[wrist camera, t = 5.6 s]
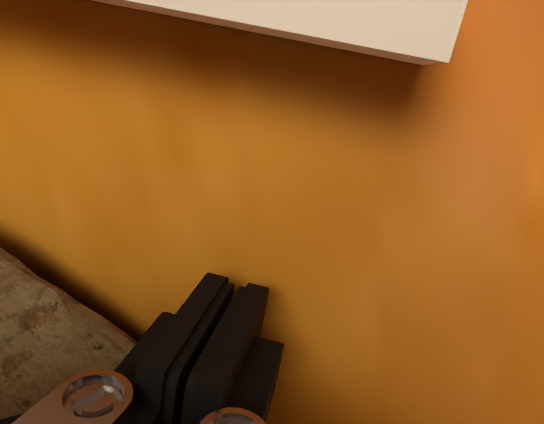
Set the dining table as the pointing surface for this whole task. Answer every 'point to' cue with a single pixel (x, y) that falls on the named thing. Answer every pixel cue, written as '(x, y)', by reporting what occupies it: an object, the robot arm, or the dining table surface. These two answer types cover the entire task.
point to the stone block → (47, 338)
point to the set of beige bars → (333, 23)
